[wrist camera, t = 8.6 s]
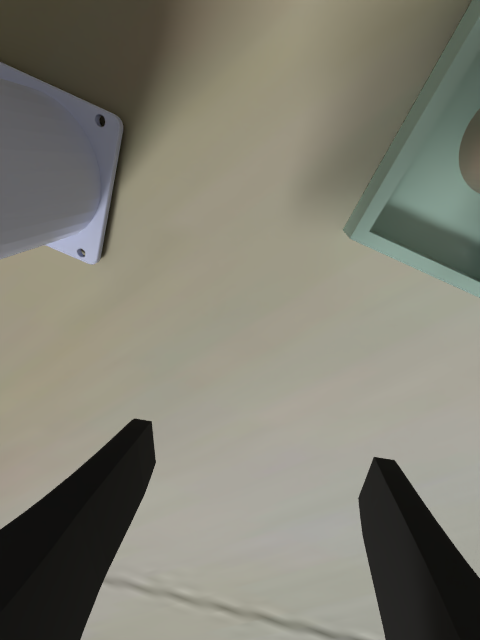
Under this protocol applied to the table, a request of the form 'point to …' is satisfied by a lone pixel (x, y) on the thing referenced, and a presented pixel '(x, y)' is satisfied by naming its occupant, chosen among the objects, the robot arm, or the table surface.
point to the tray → (431, 174)
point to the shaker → (471, 154)
